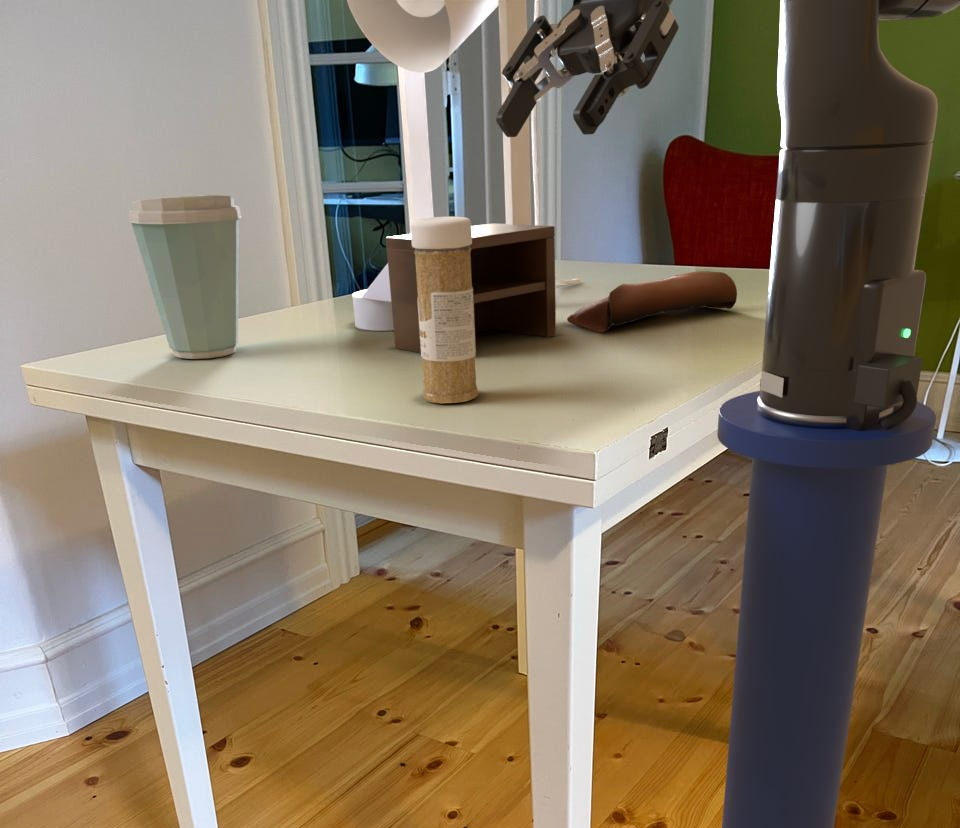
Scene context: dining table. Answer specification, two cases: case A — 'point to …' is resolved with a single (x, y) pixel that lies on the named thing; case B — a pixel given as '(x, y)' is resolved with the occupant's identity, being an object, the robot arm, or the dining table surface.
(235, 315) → the disposable coffee cup
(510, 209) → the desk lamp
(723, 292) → the sunglasses case
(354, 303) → the wedge on round base
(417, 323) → the shelf
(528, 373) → the dining table surface
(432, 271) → the sprinkles bottle
